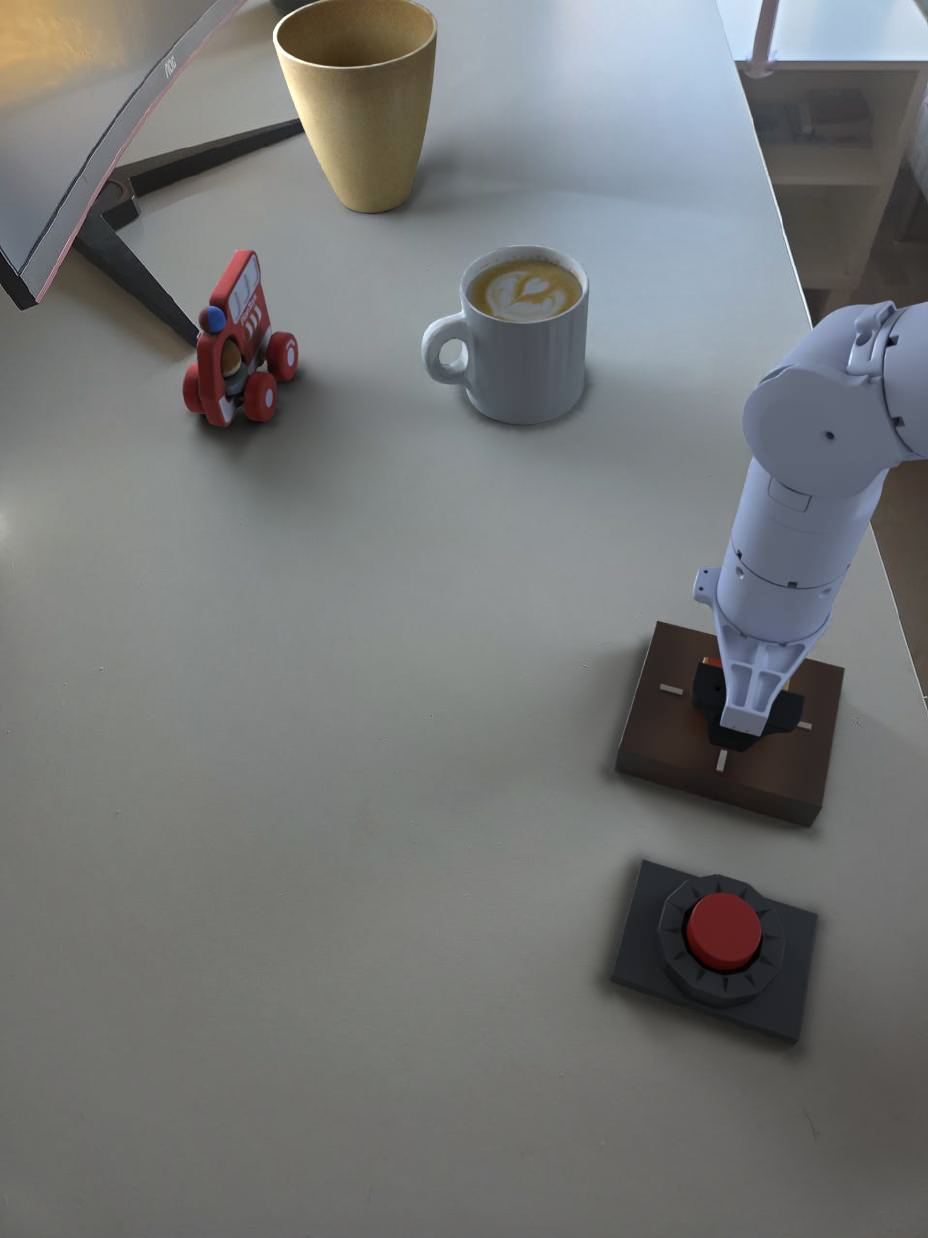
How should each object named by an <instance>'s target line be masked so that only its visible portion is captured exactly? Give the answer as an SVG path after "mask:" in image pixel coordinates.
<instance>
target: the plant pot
mask: <svg viewBox="0 0 928 1238" xmlns="http://www.w3.org/2000/svg"><path fill="white" fill-rule="evenodd" d="M438 27H439V26H438V20H437V18H436V17H435V14H433V13H432V11H431V10H429V9H428V8H427V7H425V6H424V5H422V4H421V3H418V2H416V1H413V0H318V1H314V2H311V3H309V4H306V5H304V6H303V5H302V6H301V7H299V8H297V9H295V10H294V11H292V12H290V13H289V14H287V15H286V16H284V17H283V18H282V19H280V21H279V22H278V23H277V25H276V26H275V28H274V30H273V35H272V39H273V40H272V41H273V44H274V47H275V50H276V54H277V57H278V60H279V64H280V68H281V70H282V73H283V76H284V79H285V82H286V85H287V88H288V90H289V93H290V97H291V99H292V102H293V104H294V106H295V110H296V112H297V115H298V117H299V120H300V123H301V125H302V127H303V130H304V132H305V135H306V137H307V139H308V141H309V144H310V146H311V148H312V150H313V152H314V155H315V157H316V159H317V161H318V163H319V165H320V167H321V169H322V170H323V173H324V174H325V177H326V178H327V180H328V182H329V184H330V185H331V188H332V189H333V191H334V193H335V195H336V196H337V198H338V200H339V201H340V202H341V204H342V205H343V206H344V207H346V208H347V209H350V210H351V211H353V212H357V213H365V214H377V213H382V212H387V211H390V210H393V209H395V208H397V207H400V206H401V205H402V204H403V203H405V201H406V200H407V199H408V197H409V196H410V192H411V190H412V186H413V183H414V179H415V176H416V173H417V170H418V165H419V161H420V157H421V153H422V150H423V146H424V140H425V136H426V131H427V125H428V120H429V115H430V114H429V113H430V107H431V101H432V94H433V86H434V85H433V84H434V78H435V77H434V76H435V74H434V73H435V66H436V65H435V64H436V55H437V40H438Z"/></svg>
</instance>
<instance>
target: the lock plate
mask: <svg viewBox="0 0 928 1238" xmlns="http://www.w3.org/2000/svg"><path fill="white" fill-rule="evenodd" d="M705 657H707V658H708V657H710V658H714V659H718V660H721V655H720V650H719V644H718V639H717V634H712V633H709V632H706V631H705V632H704V631H699V630H697V629H692V628H688V627H685V626H680V625H677V624H672V623H668V622H665V621H661V620H656V621H655V625H654V628H653V632H652V636H651V638H650V642H649V645H648V648H647V652H646V655H645V658H644V662H643V665H642V668H641V672H640V675H639V678H638V681H637V684H636V688H635V691H634V694H633V698H632V701H631V706H630V708H629V712H628V715H627V718H626V722H625V724H624V728H623V731H622V734H621V737H620V742H619V745H618V748H617V754H616V759H615V760H616V761H615V765H614V772H617V773H620V774H624V775H627V776H631V777H634V778H637V779H640V780H644V781H646V782H647V781H648V782H651V783H654V784H658V785H660V786H664V787H668V788H671V789H674V790H677V791H681V792H684V793H687V794H688V793H689V794H691V795H695V796H698V797H700V798H705V799H708V800H712V801H714V802H715V801H716V802H719V803H722V804H726V805H729V806H733V807H736V808H739V809H743V810H745V811H749V812H752V813H756V814H759V815H763V816H766V817H769V818H773V819H777V820H780V821H783V822H786V823H790V824H793V825H798V826H800V827H804V828H808V829H811V828H812V826H813V824H814V823H815V821H816V819H817V818H818V816H819V814H820V813H821V811H822V809H823V807H824V802H825V795H826V789H827V784H828V783H827V782H828V777H829V772H830V771H829V770H830V765H831V757H832V753H833V746H834V739H835V732H836V728H837V720H838V715H839V709H840V708H839V707H840V702H841V696H842V690H843V683H844V678H845V677H844V676H845V672H846V668H845V667H842V666H840V665H839V666H838V665H835V664H832V663H828V662H824V661H823V662H822V661H820V660H815V659H811V658H807V657H805V659H804V660H803V661H802V663H801V664H800V666H799V667H798V668H797V670H796V671H795V672H794V674H793V675H792V676H791V678H790V679H789V680H790V682H789V687H788V691H791V692H795V693H798V694H802V695H805V701H804V706H803V712H802V717H801V720H800V722H799V724H798V725H797V727H796V728H795V729H794V730H793V731H792V732H790V733H775V734H770V735H766V736H764V737H763V738H761V739H760V740H759V741H757V742H756V743H755V744H754V745H753V746H751V747H750V748H749V749H747V750H746V751H744V752H742V753H741V752H737V751H734V750H730V749H727V748H723V747H720V746H716V745H713V744H710V742H709V740H708V736H707V730H706V722H705V718H704V715H703V714H702V713H701V712H700V711H698V710H697V709H696V708H694V707H693V706H692V704H691V697H690V690H691V686H692V682H693V678H694V674H695V670H696V667H697V663H698V662H702V663H703V661H704V658H705ZM721 661H722V660H721Z"/></svg>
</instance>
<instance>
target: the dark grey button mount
mask: <svg viewBox="0 0 928 1238" xmlns="http://www.w3.org/2000/svg"><path fill="white" fill-rule="evenodd" d="M715 893H727V894H731V895H734V896H737V897H739V898H741V899H742V900H744V901H745V902H746V903H748V904H749V905H750V906H751V907H752V909H753V910H754V911H755V913H756V915H757V917H758V919H759V922H760V926H761V939H760V942H759V945H758V947H757V948H756V950H755V952H754V953H753V955H752V956H751V958H750V959H749V960H748V962H747V963H745V964H744V965H743V966H741V967H739V968H737V969H734V970H728V971H723V970H717V969H714V968H711V967H709V966H707V965H705V964H704V963H702V962H701V961H700V960H699V959H698V958H697V957H696V956H695V955H694V953H693V952H692V950H691V948H690V946H689V943H688V940H687V925H688V921H689V919H690V917H691V914H692V912H693V910H694V908H695V906H696V905H697V903H698V902H699V901H700V900H702V899H703V898H705V897H706V896H708V895H711V894H715ZM627 910H628V911H627V913H626V917H625V921H624V925H623V928H622V932H621V936H620V940H619V944H618V947H617V950H616V954H615V959H614V962H613V966H612V968H611V969H612V970H611V973H610V978H609V982H610V983H613V984H615V985H617V986H621V987H624V988H626V989H630V990H633V991H635V992H638V993H641V994H644V995H647V996H650V997H653V998H656V999H659V1000H662V1001H665V1002H667V1003H670V1004H673V1005H676V1006H679V1007H682V1008H684V1009H688V1010H691V1011H693V1012H697V1013H699V1014H701V1015H704V1016H707V1017H710V1018H714V1019H716V1020H719V1021H722V1022H725V1023H727V1024H730V1025H734V1026H737V1027H739V1028H742V1029H745V1030H748V1031H750V1032H754V1033H757V1034H759V1035H762V1036H765V1037H768V1038H771V1039H774V1040H777V1041H779V1042H782V1043H784V1044H785V1043H786V1044H788V1045H791V1046H796V1044H798V1042H799V1041H800V1040H801V1033H802V1027H803V1026H802V1025H803V1019H804V1015H805V1014H804V1013H805V1006H806V1001H807V994H808V988H809V982H810V981H809V980H810V973H811V967H812V962H813V953H814V948H815V940H816V935H817V929H818V922H819V921H818V920H819V914H818V913H815V912H812V911H809V910H805V909H803V908H799V907H797V906H793V905H790V904H786V903H783V902H780V901H778V900H774V899H771V898H768V897H765V896H763V895H762V894H761V893H760V892H759V891H758V890H757V889H756V888H755V887H753V886H752V885H751V883H748V882H746V881H742V880H739V879H735V878H732V877H729V876H726V875H723V874H720V873H718V874H717V873H714V874H710V875H704V876H697V875H695V874H691V873H689V872H685V871H681V870H678V869H675V868H672V867H669V866H666V865H662V864H659V863H657V862H653V861H650V860H646V859H643V858H642V859H641V861H640V864H639V868H638V872H637V876H636V880H635V883H634V886H633V891H632V894H631V899H630V902H629V905H628V909H627Z"/></svg>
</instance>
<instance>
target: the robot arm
mask: <svg viewBox="0 0 928 1238" xmlns="http://www.w3.org/2000/svg"><path fill="white" fill-rule="evenodd" d="M741 425H742V432H743V436H744V439H745V442H746V444H747V446H748V448H749V450H750V452H751V454H752V459H751V461H750V463H749V467H748V470H747V475H746V478H745V482H744V486H743V489H742V493H741V496H740V500H739V504H738V507H737V511H736V515H735V518H734V523H733V525H732V530H731V534H730V537H729V541H728V544H727V548H726V552H725V555H724V559H723V564H722V565H721V566H720V567H713V566H707V565H705V566H704V565H703V566H701V567H699V569H698V570H697V573H696V577H695V579H694V584H693V588H692V592H691V596H692V598H693V600H694V601H695V602H697V603H700V604H704V605H707V606H708V607H709V608H710V609H711V613H712V617H713V622H714V628H715V629H714V630H715V635H717V639H718V644H719V650H720V655H721V660H722V665H723V668H721V667H717V666H713V665H709V664H706V663H702V662H698V663H697V667H696V670H695V674H694V678H693V682H692V686H691V690H690V697H691V704H692V706H693V707H694V708H696V709H697V710H698V711H700V712H701V713H702V714H703V715H704V718H705V722H706V730H707V736H708V740H709V742H710V744H713V745H716V746H720V747H723V748H727V749H730V750H734V751H737V752H741V753H742V752H744V751H746V750H747V749H749V748H750V747H751V746H753V745H754V744H755V743H756V742H757V741H759V740H760V739H761V738H763V737H764V736H766V735H770V734H775V733H790V732H792V731H793V730H794V729H795V728H796V727H797V725H798V724H799V722H800V720H801V717H802V712H803V706H804V701H805V695H802V694H798V693H795V692H791V691H787V690H783V689H782V688H783V687H784V686H785V684H786V683H787V682H788V680H789V679H790V678H791V676H792V675H793V674H794V672H795V671H796V670H797V668H798V667H799V666H800V664H801V663H802V661H803V660H804V659H805V658H807V656H808V655H809V653H810V652H811V651H812V650H813V648H814V647H815V646H816V644H817V643H818V642H819V640H820V639H821V638H822V636H823V635H824V633H825V632H826V630H827V628H828V626H829V624H830V622H831V620H832V616H833V612H834V603H835V601H836V598H837V596H838V594H839V591H840V589H841V587H842V584H843V583H844V581H845V578H846V575H847V574H848V571H849V569H850V567H851V564H852V562H853V559H854V558H855V555H856V553H857V550H858V548H859V547H860V544H861V542H862V540H863V537H864V535H865V533H866V531H867V528H868V526H869V524H870V522H871V519H872V517H873V514H874V513H875V510H876V508H877V506H878V503H879V501H880V499H881V496H882V491H883V487H884V482H885V479H886V478H887V475H888V473H889V471H890V469H892V468H898V467H899V465H900V464H901V463H902V462H909V461H910V462H912V461H922V460H923V461H925V460H928V301H924V302H921V303H916V304H911V305H909V306H904V307H901V308H897V307H896V305H895V303H894V301H893V300H885V301H881V302H878V303H873V304H851V305H847V306H843V307H840V308H837V309H836V310H834V311H832V312H830V313H829V314H827V315H826V316H825V317H823V318H822V319H821V320H820V321H819V322H818V323H817V324H816V325H815V326H814V327H813V328H812V329H811V330H810V331H809V332H808V333H807V334H806V335H805V336H804V337H803V338H802V339H801V340H800V341H799V342H798V343H797V344H796V345H795V346H794V347H792V349H791V350H789V352H788V353H786V354H785V356H784V357H783V358H782V359H780V361H778V362H777V363H776V364H775V365H774V366H773V367H772V368H771V369H770V370H769V371H768V372H767V373H766V374H765V375H764V376H763V377H762V378H761V379H760V380H759V381H758V383H757V384H756V386H755V388H754V389H753V390H752V391H751V392H750V393H749V395H748V396H747V398H746V401H745V403H744V404H743V409H742V413H741Z"/></svg>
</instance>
